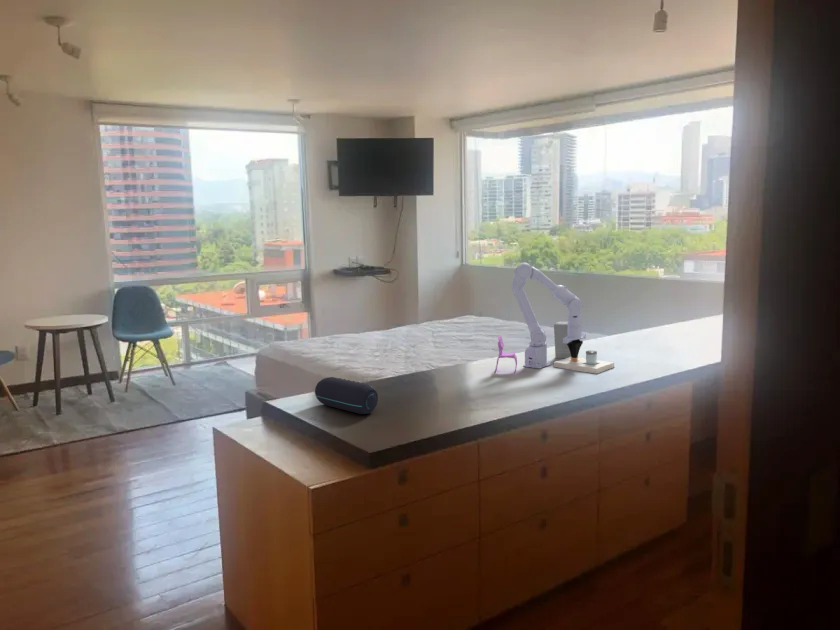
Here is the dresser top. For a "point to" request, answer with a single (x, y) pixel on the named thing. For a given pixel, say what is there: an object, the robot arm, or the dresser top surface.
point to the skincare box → (561, 340)
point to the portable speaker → (347, 395)
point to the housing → (584, 365)
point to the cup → (591, 357)
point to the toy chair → (504, 355)
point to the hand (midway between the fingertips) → (574, 357)
